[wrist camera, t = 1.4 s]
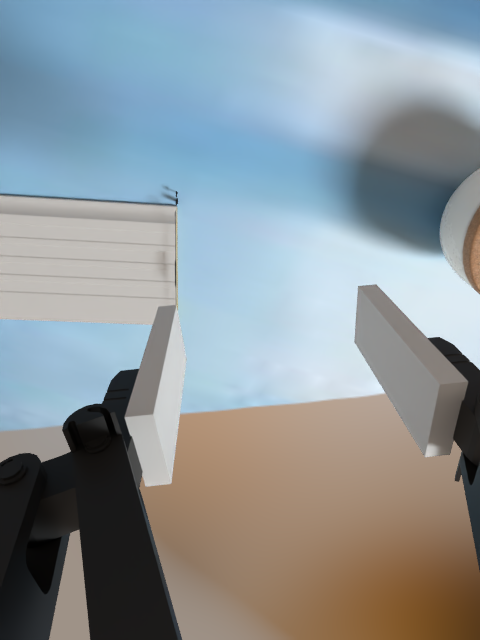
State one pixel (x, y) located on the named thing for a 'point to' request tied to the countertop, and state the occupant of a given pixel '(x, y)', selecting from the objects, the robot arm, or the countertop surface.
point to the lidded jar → (463, 231)
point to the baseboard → (86, 260)
